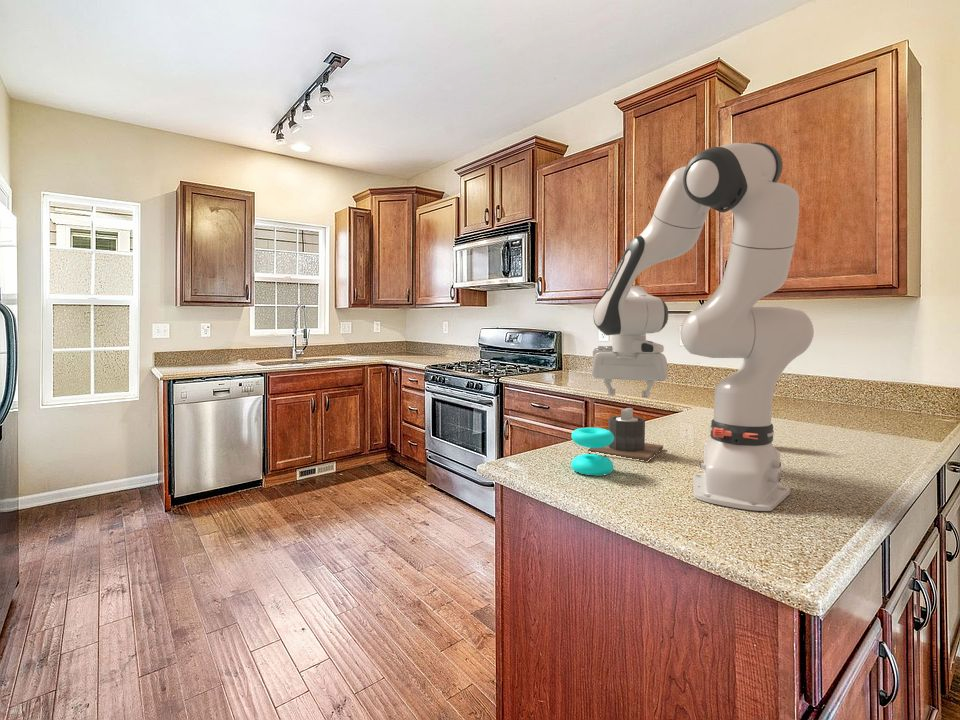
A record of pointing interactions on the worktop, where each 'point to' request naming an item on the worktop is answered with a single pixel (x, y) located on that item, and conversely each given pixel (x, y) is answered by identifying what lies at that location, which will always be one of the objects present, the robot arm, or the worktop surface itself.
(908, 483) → the worktop surface
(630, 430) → the cylinder on base plate
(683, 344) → the robot arm
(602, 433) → the donuts
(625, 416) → the block on round base
